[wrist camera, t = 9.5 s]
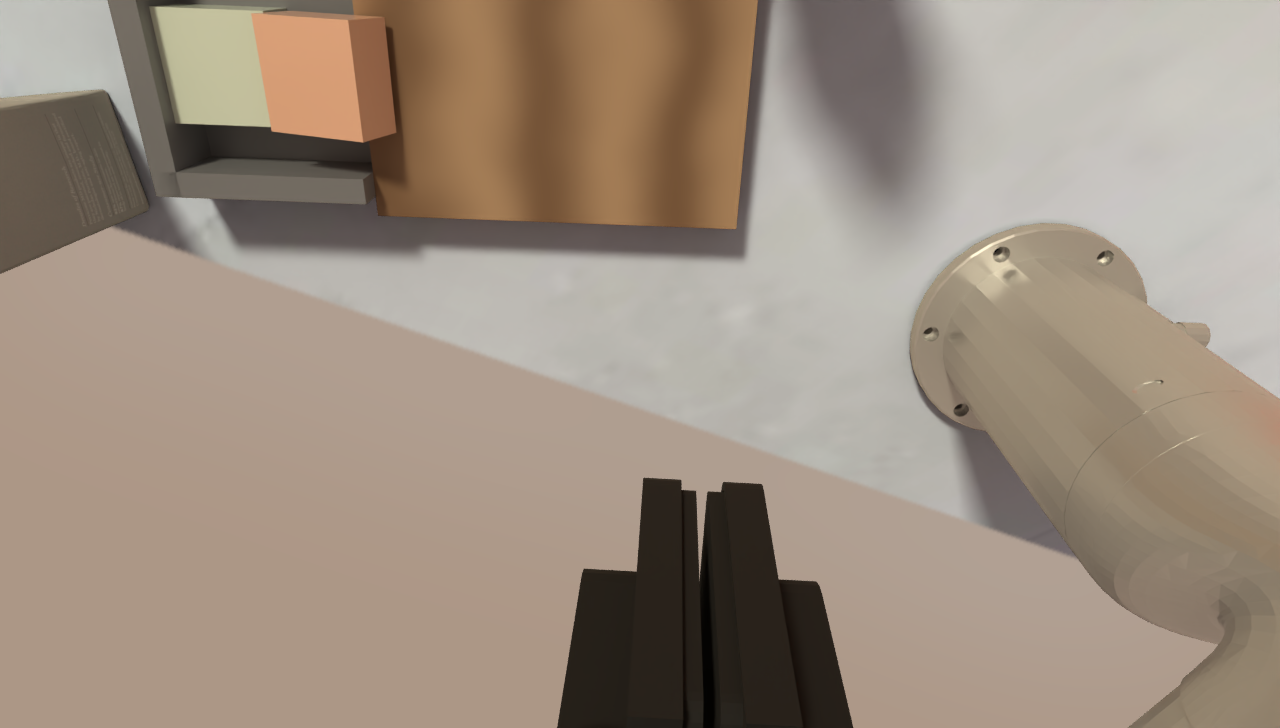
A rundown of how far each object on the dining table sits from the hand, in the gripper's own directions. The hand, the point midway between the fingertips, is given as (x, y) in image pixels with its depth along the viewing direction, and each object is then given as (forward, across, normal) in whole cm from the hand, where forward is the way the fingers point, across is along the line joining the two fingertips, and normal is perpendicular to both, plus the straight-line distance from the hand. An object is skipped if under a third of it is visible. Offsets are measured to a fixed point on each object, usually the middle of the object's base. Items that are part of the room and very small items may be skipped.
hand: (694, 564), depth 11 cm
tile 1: (+31, +21, -3) cm, 38 cm away
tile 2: (+29, +16, -3) cm, 34 cm away
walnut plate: (+32, +6, -3) cm, 33 cm away
